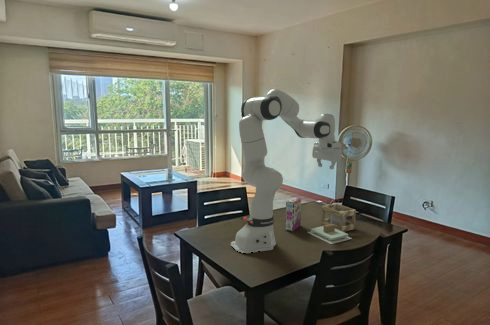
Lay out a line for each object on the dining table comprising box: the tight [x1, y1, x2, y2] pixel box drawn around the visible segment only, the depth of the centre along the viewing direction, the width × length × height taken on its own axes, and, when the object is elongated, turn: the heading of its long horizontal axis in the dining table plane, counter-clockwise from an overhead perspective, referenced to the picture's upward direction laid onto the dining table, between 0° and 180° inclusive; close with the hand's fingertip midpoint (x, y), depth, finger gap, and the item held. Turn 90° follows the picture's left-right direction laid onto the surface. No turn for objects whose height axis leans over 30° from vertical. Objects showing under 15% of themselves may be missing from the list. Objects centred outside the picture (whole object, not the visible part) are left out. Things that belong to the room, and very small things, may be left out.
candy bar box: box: [284, 196, 302, 232], centre depth 186 cm, size 11×5×16 cm, turn 149°
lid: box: [310, 224, 349, 240], centre depth 174 cm, size 12×16×6 cm
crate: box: [320, 203, 357, 233], centre depth 188 cm, size 11×15×11 cm
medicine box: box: [330, 210, 347, 226], centre depth 188 cm, size 8×4×9 cm, turn 84°
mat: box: [307, 230, 352, 245], centre depth 175 cm, size 14×18×1 cm
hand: (325, 167), depth 187 cm, fingers open, 8 cm apart
